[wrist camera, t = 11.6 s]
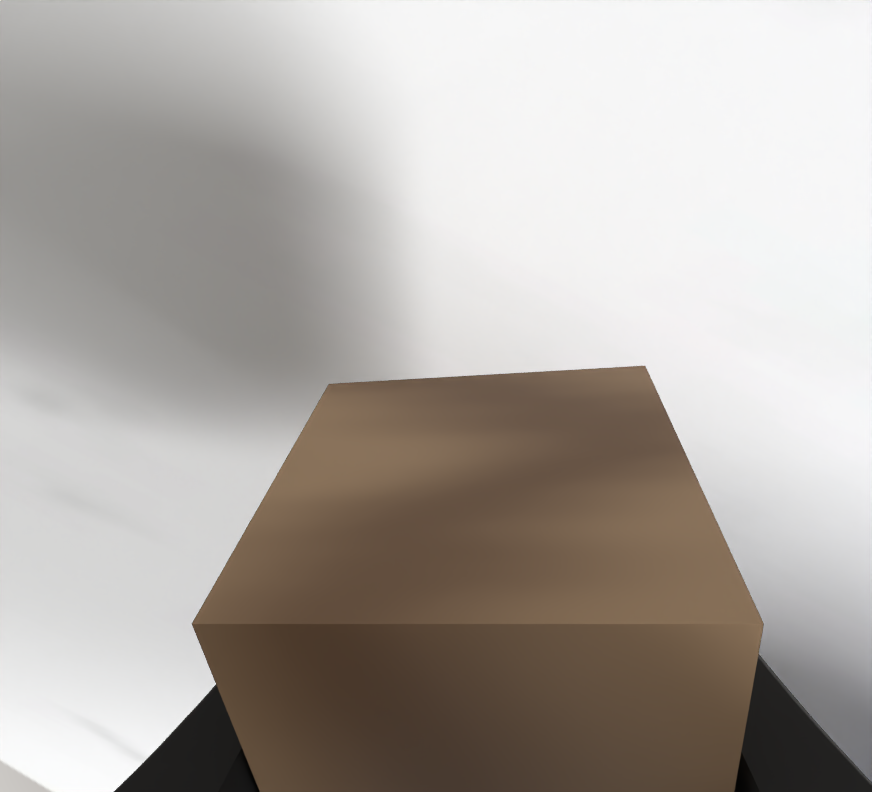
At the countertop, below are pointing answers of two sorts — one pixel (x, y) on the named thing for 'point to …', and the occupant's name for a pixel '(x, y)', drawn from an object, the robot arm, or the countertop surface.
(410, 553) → the brown rectangular block
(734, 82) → the countertop surface
